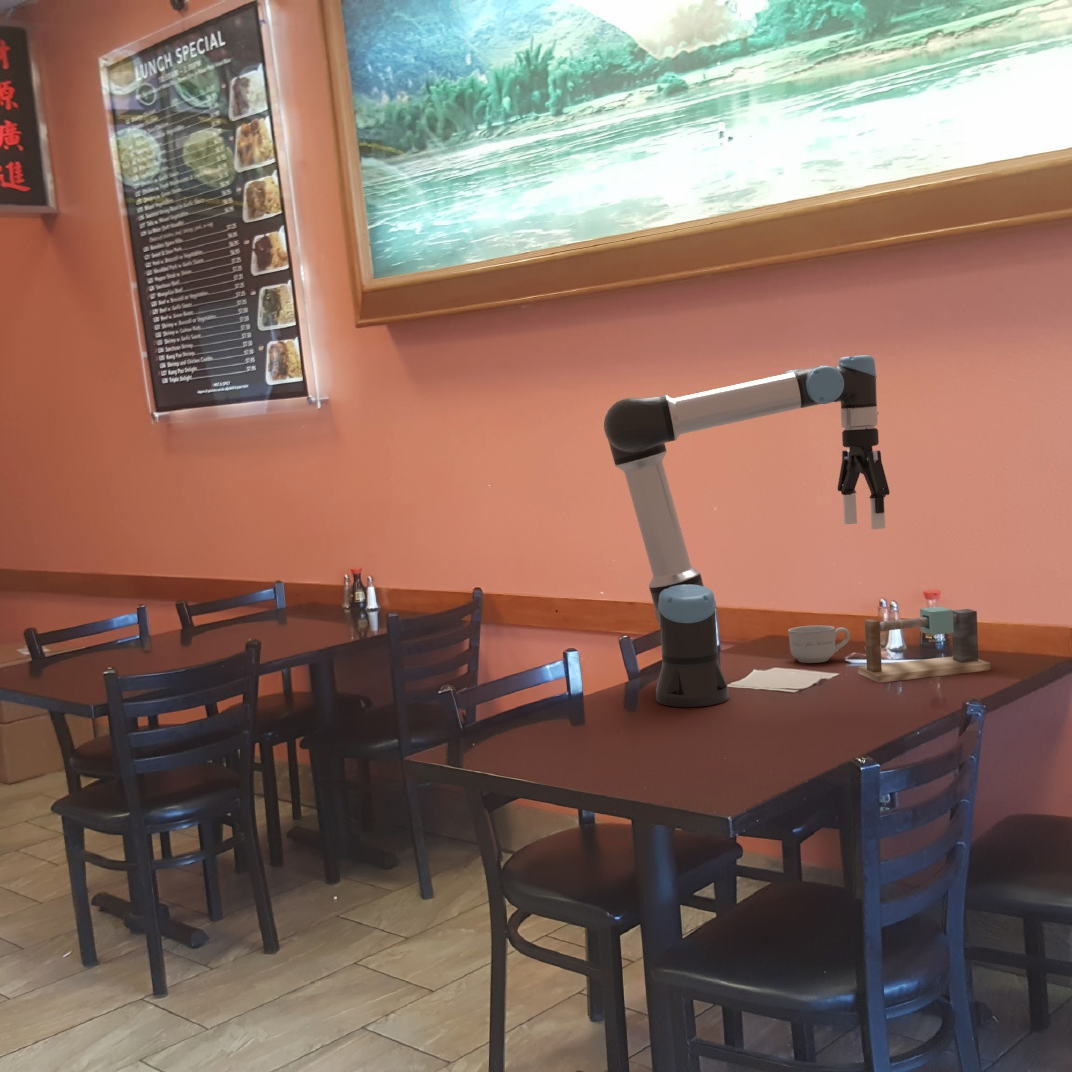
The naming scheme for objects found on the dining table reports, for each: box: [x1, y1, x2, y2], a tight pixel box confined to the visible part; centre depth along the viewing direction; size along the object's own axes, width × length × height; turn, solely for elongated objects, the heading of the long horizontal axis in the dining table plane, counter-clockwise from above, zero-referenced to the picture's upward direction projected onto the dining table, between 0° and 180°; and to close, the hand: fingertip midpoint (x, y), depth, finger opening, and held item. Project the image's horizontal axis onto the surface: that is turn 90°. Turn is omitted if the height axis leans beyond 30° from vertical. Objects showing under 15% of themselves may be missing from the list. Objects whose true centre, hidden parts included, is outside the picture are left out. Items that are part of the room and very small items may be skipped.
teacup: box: [787, 625, 851, 664], centre depth 279 cm, size 14×11×8 cm
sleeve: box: [919, 606, 954, 636], centre depth 261 cm, size 5×5×5 cm
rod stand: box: [857, 608, 992, 683], centre depth 261 cm, size 26×10×12 cm, turn 100°
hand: (864, 526), depth 260 cm, fingers open, 13 cm apart
